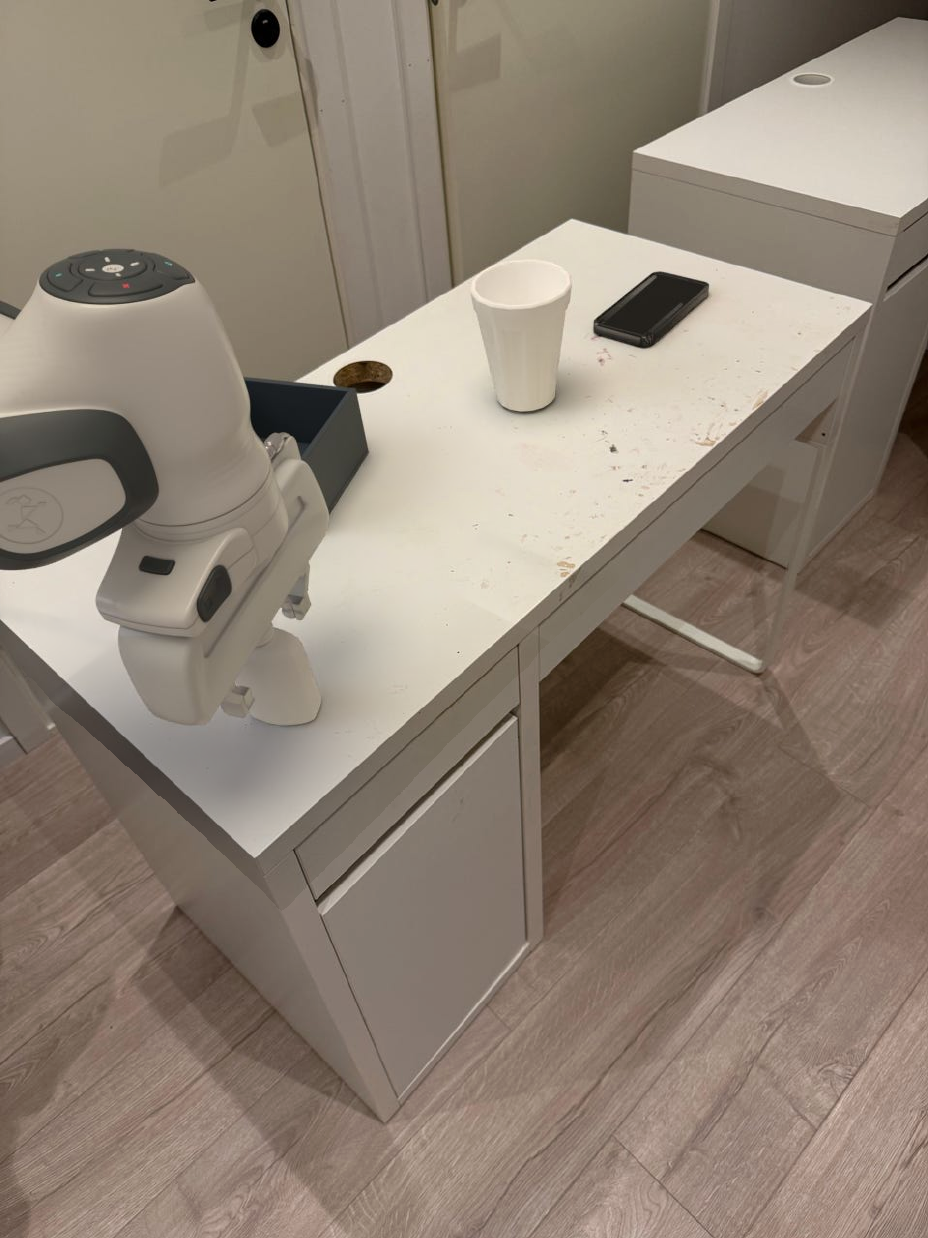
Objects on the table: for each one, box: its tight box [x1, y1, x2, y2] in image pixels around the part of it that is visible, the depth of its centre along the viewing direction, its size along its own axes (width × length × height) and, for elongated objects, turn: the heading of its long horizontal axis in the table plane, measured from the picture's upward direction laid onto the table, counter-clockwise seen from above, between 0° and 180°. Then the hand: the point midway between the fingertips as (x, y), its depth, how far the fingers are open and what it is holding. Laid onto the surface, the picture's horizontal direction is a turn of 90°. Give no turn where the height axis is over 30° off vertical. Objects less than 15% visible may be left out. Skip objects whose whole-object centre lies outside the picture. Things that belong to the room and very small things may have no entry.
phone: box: [592, 271, 710, 348], centre depth 105 cm, size 8×1×15 cm
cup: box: [469, 258, 573, 412], centre depth 91 cm, size 10×10×13 cm
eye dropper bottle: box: [235, 621, 322, 726], centre depth 65 cm, size 4×6×12 cm
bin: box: [243, 376, 370, 515], centre depth 87 cm, size 15×13×8 cm
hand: (270, 658), depth 65 cm, fingers open, 8 cm apart
